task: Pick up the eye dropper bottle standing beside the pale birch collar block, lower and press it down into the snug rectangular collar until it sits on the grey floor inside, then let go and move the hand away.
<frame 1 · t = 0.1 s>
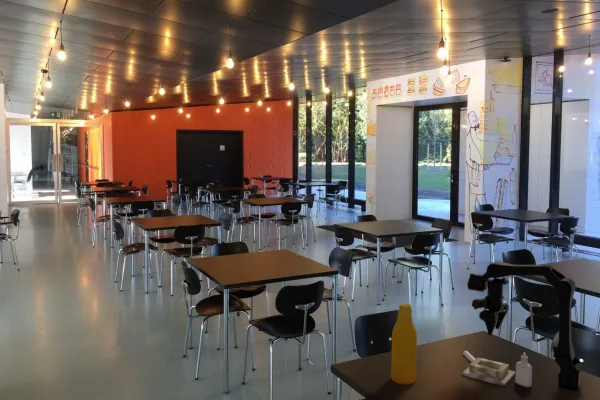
hand: (493, 332, 212), 15 cm above the table, tool pointing down, fingers open, 9 cm apart
collar block: (488, 374, 206), on the table
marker: (470, 360, 222), on the table, touching collar block
beer bottle: (403, 380, 201), on the table
eye dropper bottle: (523, 384, 198), on the table
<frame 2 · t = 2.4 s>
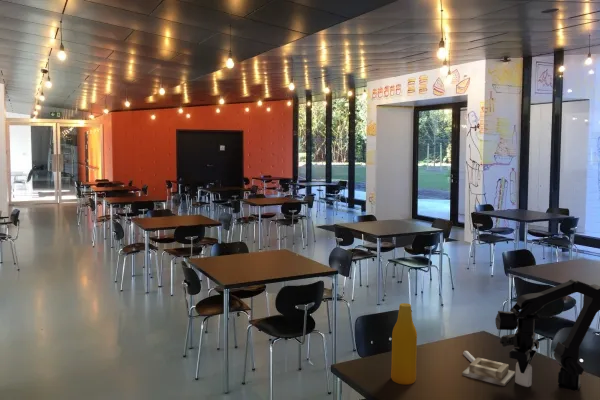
hand: (523, 371, 197), 5 cm above the table, tool pointing down, fingers closed on eye dropper bottle, 4 cm apart
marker: (470, 360, 222), on the table
eye dropper bottle: (523, 384, 198), on the table, touching gripper
everything else where it was.
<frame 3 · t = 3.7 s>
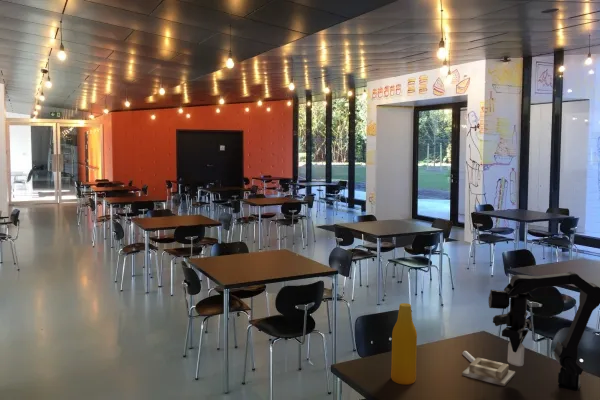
hand: (515, 350, 199), 12 cm above the table, tool pointing down, fingers closed on eye dropper bottle, 4 cm apart
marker: (469, 360, 222), on the table, touching collar block
eye dropper bottle: (515, 364, 199), point 7 cm above the table, touching gripper
everything else where it was.
when the fingers open (6 cm above the table, at t = 6.6 s): eye dropper bottle stays where it is, resting on collar block.
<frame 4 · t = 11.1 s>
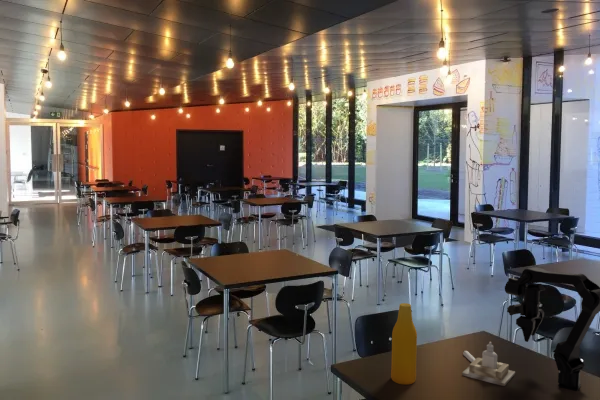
hand: (529, 338, 210), 13 cm above the table, tool pointing down, fingers open, 9 cm apart
eye dropper bottle: (489, 372, 206), point 1 cm above the table, touching collar block
everything else where it was.
at the end: eye dropper bottle 0.1 cm off-centre on the collar block, point 0.8 cm above the collar block's base; eye dropper bottle tilted 0°; the gripper is holding nothing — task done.
